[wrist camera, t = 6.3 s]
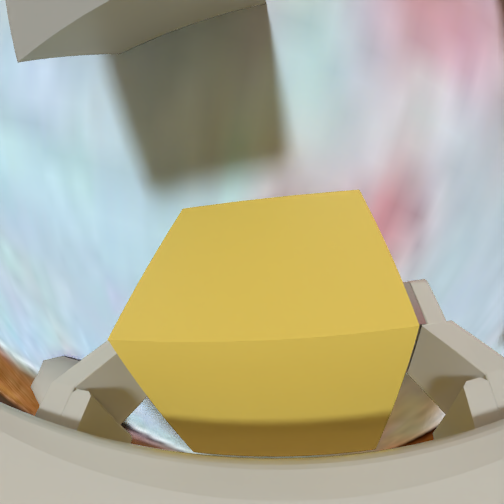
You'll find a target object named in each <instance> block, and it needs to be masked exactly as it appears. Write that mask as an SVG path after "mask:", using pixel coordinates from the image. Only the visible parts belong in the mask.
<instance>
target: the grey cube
mask: <svg viewBox="0 0 504 504" xmlns="http://www.w3.org/2000/svg"><path fill="white" fill-rule="evenodd" d="M262 4H266V1H265V0H6V6H7V13H8V19H9V24H10V30H11V35H12V39H13V44H14V49H15V53H16V57H17V61H18V62H24V61H31V60H38V59H46V58H55V57H65V56H78V55H98V54H121V53H123V52H125V51H127V50H129V49H132V48H134V47H136V46H138V45H140V44H143V43H145V42H147V41H150V40H152V39H154V38H157V37H159V36H162V35H164V34H167V33H169V32H172V31H175V30H177V29H180V28H183V27H185V26H188V25H191V24H194V23H197V22H200V21H203V20H206V19H209V18H213V17H216V16H219V15H223V14H226V13H230V12H233V11H237V10H241V9H245V8H249V7H253V6H258V5H262Z"/></svg>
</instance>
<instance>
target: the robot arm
mask: <svg viewBox="0 0 504 504" xmlns="http://www.w3.org/2000/svg"><path fill="white" fill-rule="evenodd" d="M403 284H404V287H405V289H406V292H407V294H408V297H409V299H410V302H411V304H412V307H413V309H414V312H415V315H416V317H417V320H418V323H419V329H418V333H417V336H416V340H415V343H414V347H413V350H412V353H411V357H410V360H409V363H408V366H407V369H406V372H407V373H408V375H409V376H410V377H411V378H412V379H413V380H414V381H415V382H416V383H417V384H418V385H419V386H420V387H421V388H422V389H423V390H424V392H425V393H426V394H427V395H428V396H429V397H430V398H431V399H432V400H433V401H434V402H435V403H436V404H437V405H438V407H439V408H440V409H441V410H442V411H443V412H444V413H445V414H446V415H445V416H444V418H443V419H442V421H441V422H440V424H439V425H438V427H437V428H436V430H435V431H434V432H433V437H434V440H432V441H428V442H423V443H418V444H414V445H409V446H404V447H398V448H392V449H386V450H380V451H373V452H366V453H358V454H349V455H339V456H327V457H311V458H239V457H223V456H210V455H200V454H191V453H183V452H175V451H169V450H162V449H156V448H150V447H145V446H139V445H134V444H131V441H132V437H131V435H130V434H129V433H128V432H127V431H126V430H125V429H124V428H123V427H122V426H121V424H122V423H123V421H124V420H125V419H126V418H127V417H128V416H129V415H130V414H131V413H132V412H133V411H134V410H135V409H136V408H137V407H138V406H139V405H140V403H141V402H142V401H143V400H144V399H145V398H146V397H147V395H146V394H145V392H144V391H143V390H142V388H141V387H140V386H139V384H138V383H137V382H136V380H135V379H134V377H133V376H132V375H131V373H130V372H129V370H128V369H127V368H126V366H125V365H124V363H123V362H122V360H121V359H120V357H119V356H118V354H117V353H116V351H115V350H114V348H113V347H112V345H111V344H110V342H109V341H108V340H107V341H106V342H105V343H103V344H102V345H101V346H99V347H98V348H97V349H95V350H94V351H93V352H91V353H90V354H89V355H87V356H86V357H85V358H83V359H82V360H81V361H79V362H78V363H77V364H75V365H74V366H73V367H71V368H70V369H69V370H67V371H66V372H65V373H63V374H62V375H61V376H60V377H58V378H57V379H56V380H54V381H53V382H52V383H51V385H50V387H49V389H48V391H47V393H46V395H45V397H44V399H43V401H42V403H41V405H40V407H39V409H38V411H37V413H36V415H35V416H33V415H30V414H27V413H25V412H22V411H20V410H17V409H15V408H12V407H10V406H8V405H5V404H3V403H1V402H0V504H504V357H503V356H501V355H500V354H498V353H497V352H496V351H494V350H493V349H492V348H490V347H489V346H487V345H486V344H485V343H483V342H482V341H480V340H479V339H477V338H476V337H475V336H473V335H472V334H470V333H469V332H467V331H466V330H465V329H463V328H462V327H460V326H459V325H457V324H456V323H454V322H453V321H446V319H445V317H444V315H443V313H442V310H441V308H440V306H439V304H438V302H437V300H436V298H435V296H434V294H433V292H432V290H431V288H430V286H429V284H428V282H427V281H426V280H425V279H421V280H414V281H408V282H403Z"/></svg>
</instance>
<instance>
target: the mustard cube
mask: <svg viewBox="0 0 504 504" xmlns="http://www.w3.org/2000/svg"><path fill="white" fill-rule="evenodd" d="M418 329H419V323H418V320H417V317H416V315H415V312H414V309H413V307H412V304H411V302H410V299H409V297H408V294H407V292H406V289H405V287H404V284H403V282H402V280H401V277H400V275H399V272H398V270H397V268H396V265H395V263H394V261H393V259H392V256H391V254H390V252H389V250H388V248H387V245H386V243H385V241H384V239H383V237H382V235H381V232H380V230H379V228H378V226H377V224H376V222H375V220H374V218H373V216H372V214H371V212H370V210H369V208H368V206H367V204H366V202H365V200H364V198H363V196H362V194H361V192H360V190H350V191H337V192H326V193H314V194H304V195H293V196H283V197H274V198H265V199H256V200H247V201H239V202H230V203H222V204H215V205H207V206H200V207H192V208H185V209H182V211H181V213H180V214H179V216H178V217H177V219H176V220H175V222H174V224H173V225H172V227H171V229H170V230H169V232H168V233H167V235H166V237H165V238H164V240H163V242H162V243H161V245H160V247H159V248H158V250H157V252H156V253H155V255H154V257H153V258H152V260H151V262H150V263H149V265H148V267H147V269H146V270H145V272H144V274H143V276H142V277H141V279H140V281H139V283H138V284H137V286H136V288H135V290H134V291H133V293H132V295H131V297H130V299H129V301H128V302H127V304H126V306H125V308H124V310H123V312H122V313H121V315H120V317H119V319H118V321H117V323H116V325H115V327H114V328H113V330H112V332H111V334H110V336H109V338H108V341H109V342H110V344H111V345H112V347H113V348H114V350H115V351H116V353H117V354H118V356H119V357H120V359H121V360H122V362H123V363H124V365H125V366H126V368H127V369H128V370H129V372H130V373H131V375H132V376H133V377H134V379H135V380H136V382H137V383H138V384H139V386H140V387H141V388H142V390H143V391H144V392H145V394H146V395H147V396H148V398H149V399H150V400H151V402H152V403H153V404H154V405H155V407H156V408H157V409H158V411H159V412H160V413H161V414H162V416H163V417H164V418H165V419H166V420H167V422H168V423H169V424H170V425H171V426H172V428H173V429H174V430H175V431H176V432H177V434H178V435H179V436H180V437H181V438H182V439H183V440H184V442H185V443H186V444H187V445H188V446H189V447H190V448H191V449H192V451H193V452H198V453H208V454H220V455H236V456H311V455H327V454H339V453H349V452H358V451H366V450H373V449H376V447H377V444H378V442H379V440H380V438H381V435H382V433H383V431H384V428H385V426H386V424H387V421H388V419H389V416H390V414H391V411H392V409H393V406H394V403H395V401H396V398H397V395H398V393H399V390H400V387H401V384H402V381H403V378H404V375H405V372H406V369H407V366H408V363H409V360H410V357H411V353H412V350H413V347H414V343H415V340H416V336H417V333H418Z"/></svg>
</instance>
